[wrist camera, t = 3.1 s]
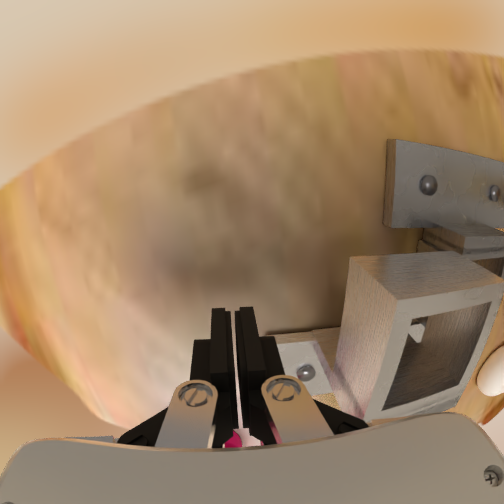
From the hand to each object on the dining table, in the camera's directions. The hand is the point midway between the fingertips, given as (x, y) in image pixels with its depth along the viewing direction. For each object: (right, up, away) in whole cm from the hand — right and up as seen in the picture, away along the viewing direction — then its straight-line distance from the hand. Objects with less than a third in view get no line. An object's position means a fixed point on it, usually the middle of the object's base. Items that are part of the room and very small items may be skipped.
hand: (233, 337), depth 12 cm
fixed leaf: (+14, +5, +5) cm, 16 cm away
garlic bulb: (+28, -9, +12) cm, 32 cm away
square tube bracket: (+8, -1, +6) cm, 10 cm away
